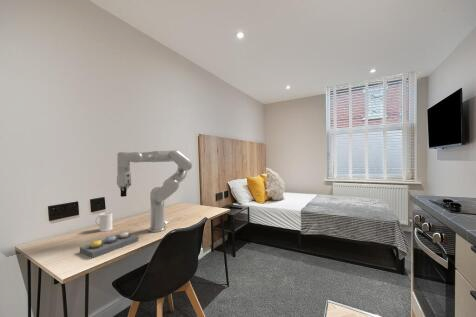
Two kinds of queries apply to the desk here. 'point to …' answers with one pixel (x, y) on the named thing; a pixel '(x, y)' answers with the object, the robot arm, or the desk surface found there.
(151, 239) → the desk surface
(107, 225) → the mug
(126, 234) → the cream button
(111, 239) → the slate button
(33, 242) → the desk surface
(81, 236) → the desk surface
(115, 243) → the control board
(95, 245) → the mustard button
